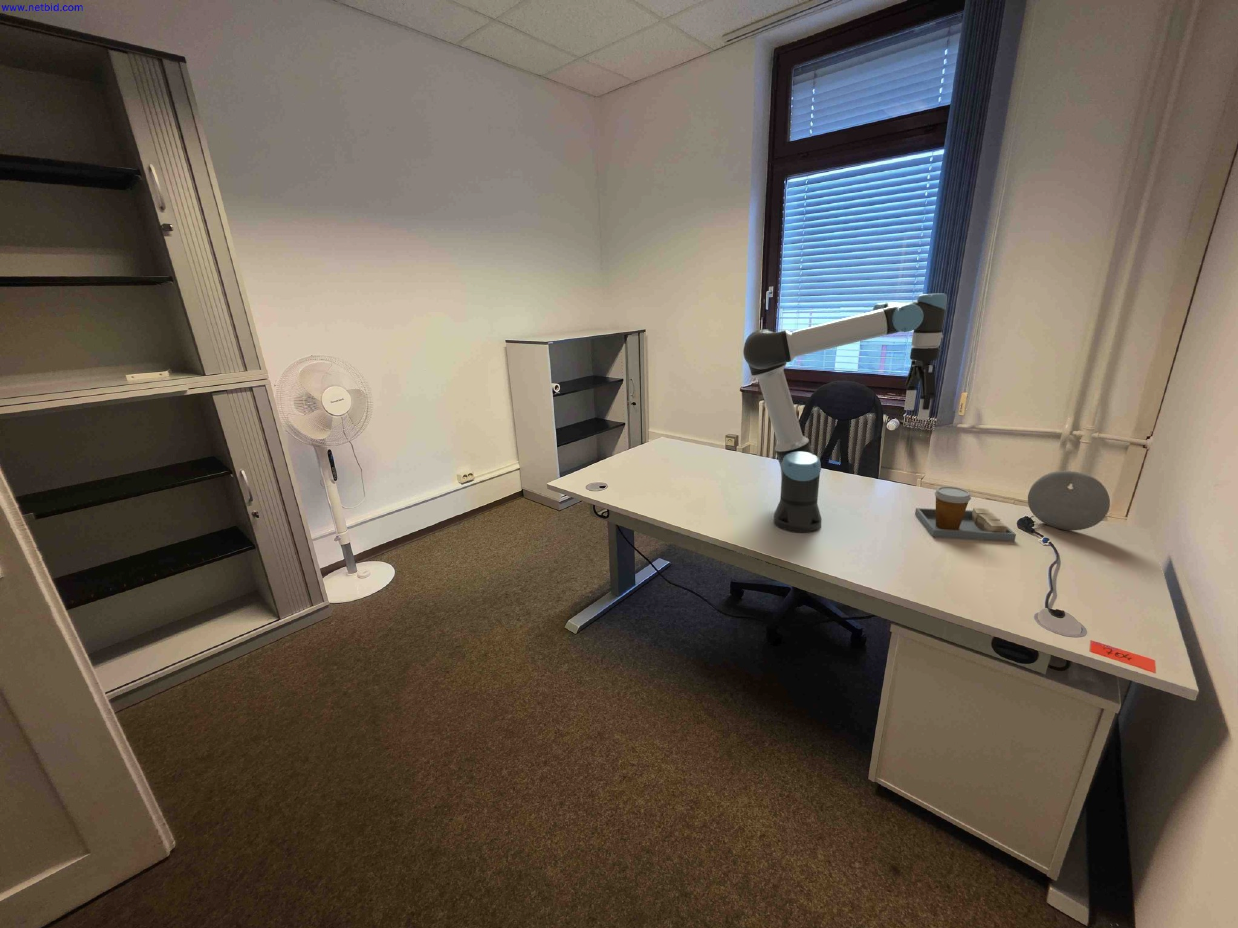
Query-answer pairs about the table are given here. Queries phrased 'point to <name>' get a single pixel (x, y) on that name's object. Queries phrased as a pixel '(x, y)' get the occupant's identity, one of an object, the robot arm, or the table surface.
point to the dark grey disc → (1069, 500)
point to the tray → (960, 528)
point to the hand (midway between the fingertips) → (915, 414)
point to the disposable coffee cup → (950, 507)
